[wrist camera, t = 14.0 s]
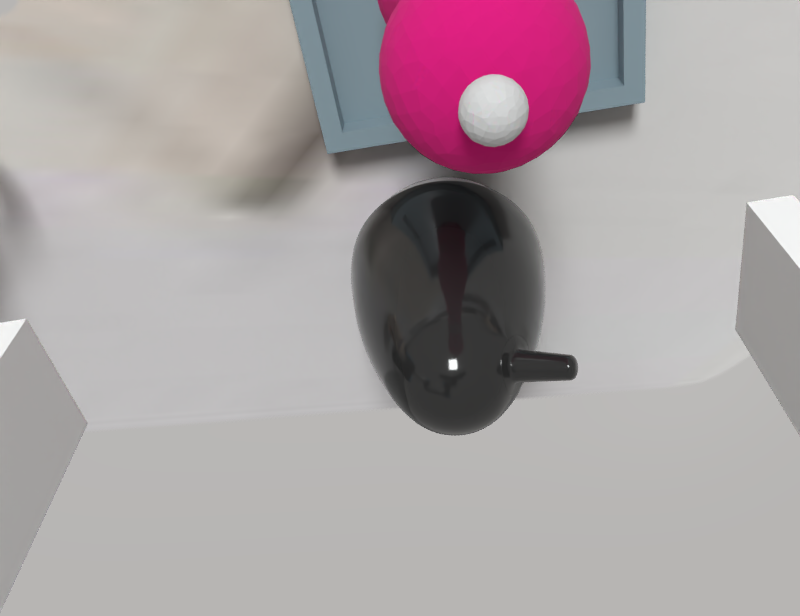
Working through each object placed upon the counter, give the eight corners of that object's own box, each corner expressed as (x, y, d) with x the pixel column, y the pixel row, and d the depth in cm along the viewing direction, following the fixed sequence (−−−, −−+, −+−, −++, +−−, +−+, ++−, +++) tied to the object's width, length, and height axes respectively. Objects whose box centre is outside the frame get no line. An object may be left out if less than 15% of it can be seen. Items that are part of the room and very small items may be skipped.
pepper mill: (567, -32, 35) (700, 147, 19) (441, 65, 38) (462, 296, 21) (476, -178, 32) (542, -113, 16) (345, -60, 34) (285, 100, 18)
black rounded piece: (552, 279, 46) (604, 469, 34) (388, 321, 48) (381, 515, 36) (513, 125, 40) (559, 286, 28) (329, 180, 42) (297, 353, 30)
